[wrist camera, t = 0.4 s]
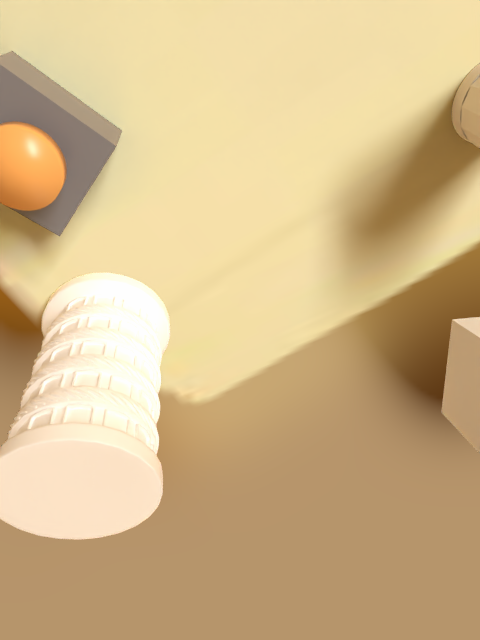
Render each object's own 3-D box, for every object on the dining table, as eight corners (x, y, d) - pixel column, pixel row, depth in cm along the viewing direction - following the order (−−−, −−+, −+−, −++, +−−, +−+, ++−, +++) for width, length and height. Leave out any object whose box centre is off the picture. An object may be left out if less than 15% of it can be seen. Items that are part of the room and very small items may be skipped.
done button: (1, 103, 26) (-7, 108, 25) (80, 156, 28) (76, 163, 27) (-32, 171, 28) (-41, 179, 27) (45, 215, 30) (39, 225, 29)
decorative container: (130, 384, 47) (111, 555, 33) (22, 337, 42) (-55, 516, 28) (193, 311, 43) (203, 473, 28) (81, 248, 38) (24, 408, 23)
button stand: (12, 51, 29) (-8, 58, 26) (121, 130, 32) (116, 146, 29) (-35, 152, 32) (-58, 169, 29) (69, 214, 36) (59, 236, 32)
